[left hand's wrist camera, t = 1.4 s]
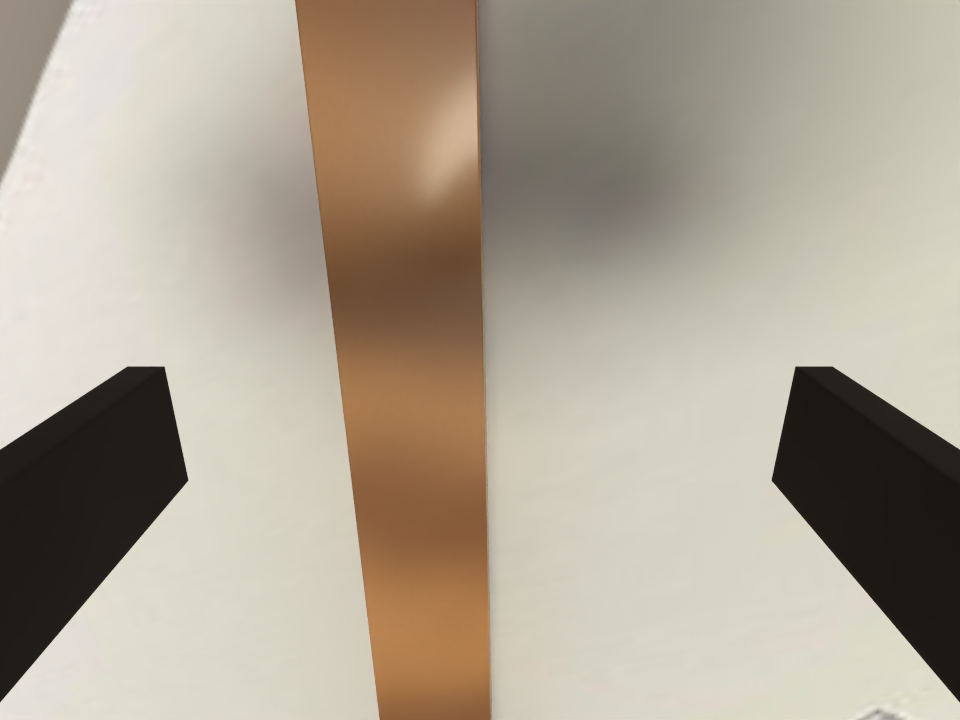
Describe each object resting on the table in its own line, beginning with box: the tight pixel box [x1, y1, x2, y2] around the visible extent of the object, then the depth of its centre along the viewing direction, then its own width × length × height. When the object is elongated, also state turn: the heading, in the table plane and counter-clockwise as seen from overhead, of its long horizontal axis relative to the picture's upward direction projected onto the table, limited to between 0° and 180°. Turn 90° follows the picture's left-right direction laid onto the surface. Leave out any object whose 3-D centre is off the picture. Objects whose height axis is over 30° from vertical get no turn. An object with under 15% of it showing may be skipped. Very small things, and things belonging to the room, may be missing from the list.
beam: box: [295, 0, 492, 720], centre depth 30 cm, size 61×5×8 cm, turn 1°
